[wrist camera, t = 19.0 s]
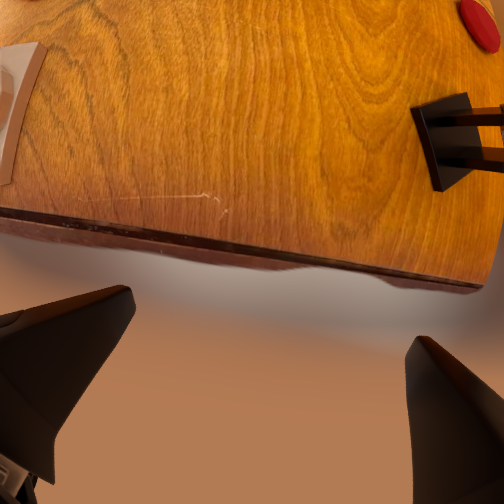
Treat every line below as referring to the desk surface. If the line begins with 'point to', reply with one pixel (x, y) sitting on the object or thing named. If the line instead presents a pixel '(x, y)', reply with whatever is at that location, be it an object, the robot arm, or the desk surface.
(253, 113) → the desk surface
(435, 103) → the bracket
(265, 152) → the desk surface
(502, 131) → the lever
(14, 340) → the robot arm
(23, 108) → the button block
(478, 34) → the gemstone
